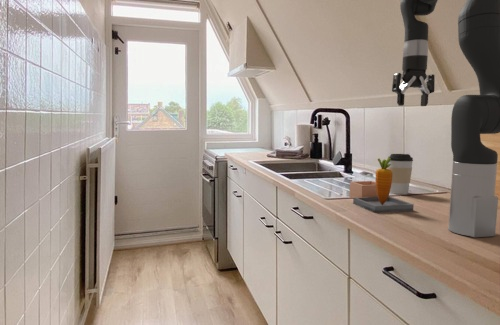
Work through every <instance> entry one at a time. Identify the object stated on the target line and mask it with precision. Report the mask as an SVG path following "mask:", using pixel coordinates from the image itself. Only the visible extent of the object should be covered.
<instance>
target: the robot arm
mask: <svg viewBox="0 0 500 325" xmlns="http://www.w3.org/2000/svg"><path fill="white" fill-rule="evenodd" d="M437 3H438V0H400V3H399V4H400V5H399V6H400V13H401V14H400V15H401V16H402V22H403V26H404V42H403V43H404V44H403V50H402V65H401V68H402V69H401V70H402V73H401V72H396V73H393V75H392V76H393V78H392V86H391V92H392V93H396V94H397V98H396V99H397V100H396V104H397V105H398V107H399V106H405V93H406V91H407V90H408V89H409V88H416V89H418V90H419V92H420V93H421V95H420V107H426V106H427V105H428V103H429V95H430V94H433V93H435V83H436V82H435V74H427V73H426V72H427V70H428V59H429V58H428V57H429V56H428V55H429V43H428V41H429V25H428V23H426V22H424V21H420V20H418V19H417V18H416V17H417V16H420V17H423V16H424V17H425V16H428V15H431V14H433V13H434V11H435V8H436V6H437V5H436V4H437ZM457 18H458V19H457V31H458V32H457V34H458V38H457V39H458V44H459V48H460V51H461V52H462V53H463V56H464V57H465V59H466V60H467V62H468V63H469V64H470V66H471V68H472V69H473V72H474V73H475V76H476V78H477V81H478V88H479V94H466V95H464V94H463V95H461V96H460V97H459V98H457V99H456V101H455V102H454V104H453V107H452V110H451V121H450V122H451V125H450V127H451V128H450V130H451V133H450V134H451V135H450V136H451V137H450V140H451V142H450V145H451V146H450V147H451V152H452V171H451V173H452V174H451V184H450V185H451V186H450V198H449V199H450V200H449V216H448V217H449V218H448V231H450V232H452V233H454V234H458V235H462V236H468V237H471V238H487V237H495V236H496V233H497V232H496V230H497V228H496V227H497V220H498V219H497V218H498V205H499V196H496V194H495V193H496V181H497V170H498V169H497V168H498V158H499V157H498V156H499V155H498V152H497V151H496V150H494V149H492V148H489V147H487V146H486V145H484V144H483V142H482V141H481V140H482V139H481V135H486V134H487V135H489V134H491V135H496V134H500V0H466V1H465V2H464V5H463V6H462V8H461V10H460V11H459V14H458V17H457ZM401 81H402V83H401ZM425 81H426V82H425Z"/></svg>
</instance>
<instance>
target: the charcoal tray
mask: <svg viewBox="0 0 500 325" xmlns="http://www.w3.org/2000/svg"><path fill="white" fill-rule="evenodd" d="M352 199H353V202H352V204H353V205H356V206H358V207H360V208H363V209H365V210H367V211H369V212H371V213H377V214H379V213H380V214H381V213H398V212H399V213H400V212H413V211H414V203H410V202H407V201H404V200H401V199H398V198H395V197H393V196H388V198H387V200H386V202H385V203H384V204H383V205H382V204H381V203H380V201H379V199H378V197H355V198H352Z"/></svg>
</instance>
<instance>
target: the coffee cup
mask: <svg viewBox="0 0 500 325" xmlns="http://www.w3.org/2000/svg"><path fill="white" fill-rule="evenodd" d="M388 158H391V160H390V162H389V163H388V164H391V165H390V166H389V167H388V168H387V169H389V170H391V171H392V184H391V189H390V193H389V194H393V195H409V189H410V183H411V178H412V169H413V167H412V166H413V161H414V159H413V157H412V156H411V155H410V153H390V155H389V156H388V157H387V159H388Z"/></svg>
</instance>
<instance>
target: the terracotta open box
mask: <svg viewBox="0 0 500 325" xmlns="http://www.w3.org/2000/svg"><path fill="white" fill-rule="evenodd" d="M348 194H349V198H352V199H353V198H355V197H378V196H377V192H376V181H373V180H358V181H356V180H354V181H351V180H350V181H349V193H348Z"/></svg>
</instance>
